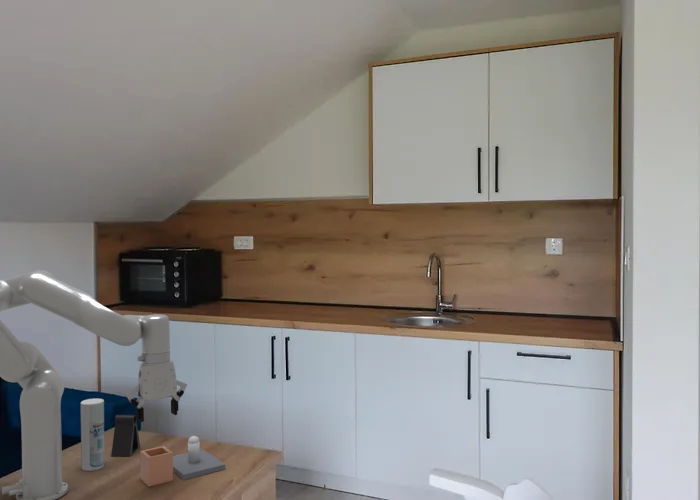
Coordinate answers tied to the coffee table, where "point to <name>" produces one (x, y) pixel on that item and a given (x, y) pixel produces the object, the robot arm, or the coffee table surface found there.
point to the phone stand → (125, 436)
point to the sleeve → (156, 466)
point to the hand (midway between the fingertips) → (157, 417)
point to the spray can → (92, 434)
